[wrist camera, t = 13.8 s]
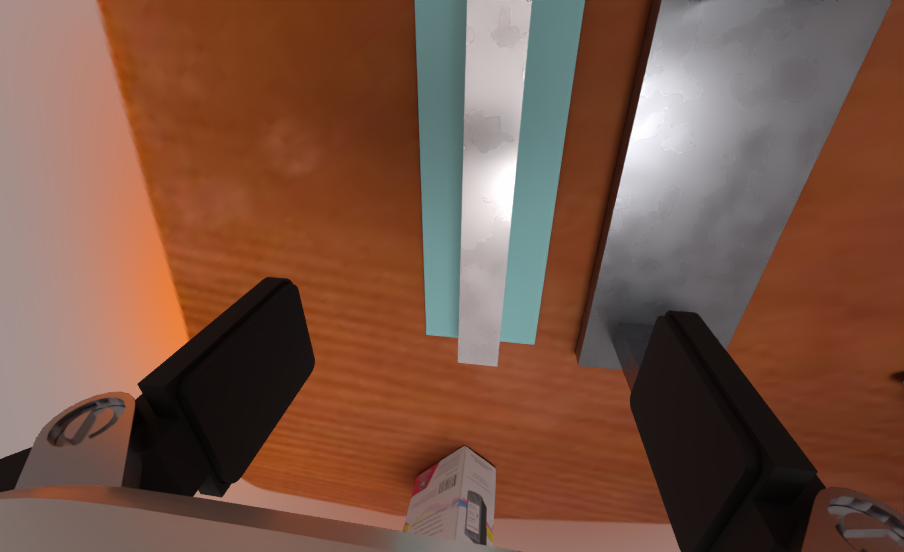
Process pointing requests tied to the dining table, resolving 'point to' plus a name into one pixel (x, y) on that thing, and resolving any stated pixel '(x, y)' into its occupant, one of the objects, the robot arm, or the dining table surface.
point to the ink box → (455, 499)
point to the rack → (715, 160)
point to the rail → (489, 167)
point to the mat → (535, 167)
